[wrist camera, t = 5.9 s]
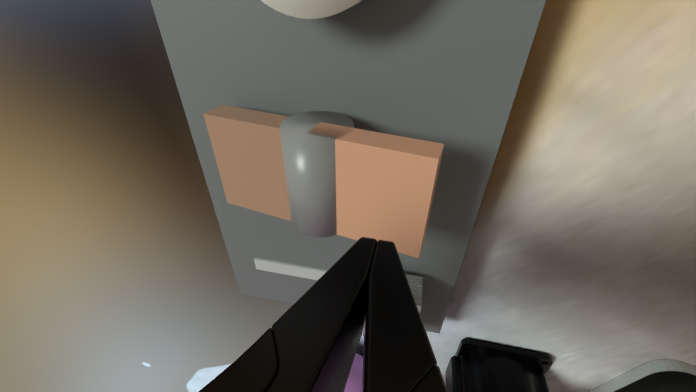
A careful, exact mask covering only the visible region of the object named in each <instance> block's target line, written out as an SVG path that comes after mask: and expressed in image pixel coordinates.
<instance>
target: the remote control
mask: <svg viewBox="0 0 696 392" xmlns="http://www.w3.org/2000/svg"><path fill="white" fill-rule="evenodd" d="M589 392H696V367H695V366H692V365H689V364H687V363H684V362H681V361H677V360H669V359H661V360H653V361H649V362H646V363H644V364H642V365H640V366H638V367H636V368H634V369H632V370H630V371H628V372H626V373H624V374H622V375H620V376H618V377H616V378H614V379H612V380H610V381H609V382H607V383H605V384H603V385H601V386H599V387H597V388H595V389H593V390H591V391H589Z"/></svg>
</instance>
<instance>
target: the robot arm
mask: <svg viewBox="0 0 696 392" xmlns="http://www.w3.org/2000/svg"><path fill="white" fill-rule="evenodd" d="M365 319H366V320H365ZM364 324H365V333H364V352H363V370H362V388H361V392H549V389H548V385H547V382H546V378H545V373H546V372H547V370H548V369H549V368H550V366H551V365H552V363H553V362H552V359H551V357H550V356H549V355H547V354H543V353H538V352H533V351H528V350H523V349H518V348H513V347H507V346H502V345H497V344H492V343H487V342H482V341H477V340H472V339H463V340H462V341H461V342H460V345H459V347H458V350H457V352H456V355H455V356H453V357H451V359H450V362H449V364H448V367H447V370H446V386H445V383H444V380H443V378H442V375H441V372H440V369H439V367H438V366H436V365H437V361H436V358H435V356H434V353H433V350H432V347H431V344H430V342H429V339H428V336H427V333H426V330H425V328H424V325H423V322H422V319H421V316H420V313H419V311H418V308H417V305H416V302H415V299H414V297H413V294H412V291H411V288H410V285H409V283H408V280H407V277H406V274H405V271H404V269H403V266H402V263H401V260H400V257H399V255H398V252H397V249H396V246H395V244H394V242H392V241H386V240H378V241H377V240H376V239H374V238H368V237H361V238H360V239H359V240H358V241H357V242H356V243H355V244H354V245H353V246H352V247H351V248H350V249H349V250H348V251H347V252H346V253H345V254H344V255H343V256H342V257H341V258H340V259H339V260H338V261H337V262H336V263H335V264H334V265H333V266H332V267H331V268H330V269H329V270H328V271H327V272H326V273H325V274H324V275H323V276H322V277H321V278H320V279H319V280H318V281H317V282H316V283H315V284H313V285H312V286H311V287H310V288H309V289H308V290H307V291H306V292H305V293H304V294H303V295H302V296H301V297H300V298H299V299H298V300H297V301H296V302H295V303H294V304H293V305H292V306H291V307H290V309H288V310H287V312H285V313H284V314H283V315H282V316H281V318H279V319H278V320H277V321H276V322H275V323H274V325H273V326H272V329H271V328H269V329H268V330H267V331H266V332H265V333H264V334H263V335H262V336H261V337H260V338H259V339H258V340H257V341H256V342H255V343H254V344H253V345H252V346H251V347H250V348H249V349H248V350H247V351H245V352H244V353H243V354H242V355H241V356H240V357H239V358H238V359H237V360H236V361H235V362H234V363H232V364H231V365H230V366H229V367H228V368H226V369H225V370H224V371H223V372H222V373H221V374H219V375H218V376H217V377H216V378H215V379H214V380H212V381H211V382H210V383H209V384H207V385H206V386H205V387H204V388H203V389H201V390H200V391H199V392H344V390H345V386H346V383H347V380H348V377H349V373H350V370H351V367H352V364H353V361H354V357H355V354H356V351H357V348H358V344H359V341H360V338H361V335H362V331H363V328H364Z"/></svg>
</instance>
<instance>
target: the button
mask: <svg viewBox="0 0 696 392" xmlns="http://www.w3.org/2000/svg"><path fill="white" fill-rule="evenodd" d="M261 1H262V2H263V3H265V4H266V5H268V6H269V7H271V8H273V9H274V10H276V11H279V12H281V13H283V14H285V15H289V16H292V17H296V18H303V19H319V18H324V17H329V16H332V15H335V14H338V13H340V12H342V11H344V10H346V9H348V8H350V7H352V6H354V5H356V4H358V3H359V2H361V1H363V0H261Z"/></svg>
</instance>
